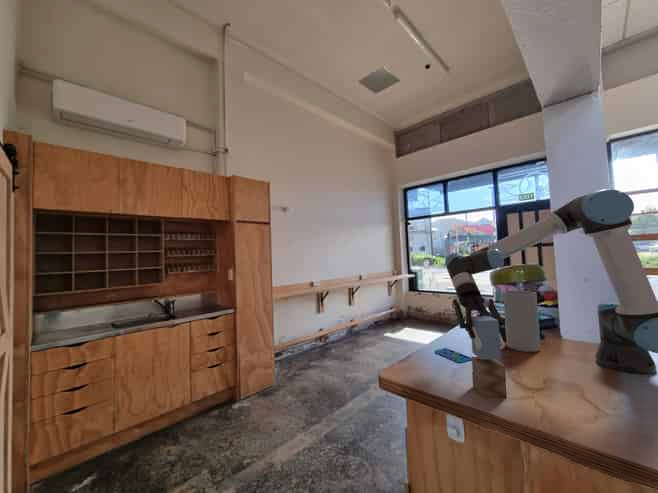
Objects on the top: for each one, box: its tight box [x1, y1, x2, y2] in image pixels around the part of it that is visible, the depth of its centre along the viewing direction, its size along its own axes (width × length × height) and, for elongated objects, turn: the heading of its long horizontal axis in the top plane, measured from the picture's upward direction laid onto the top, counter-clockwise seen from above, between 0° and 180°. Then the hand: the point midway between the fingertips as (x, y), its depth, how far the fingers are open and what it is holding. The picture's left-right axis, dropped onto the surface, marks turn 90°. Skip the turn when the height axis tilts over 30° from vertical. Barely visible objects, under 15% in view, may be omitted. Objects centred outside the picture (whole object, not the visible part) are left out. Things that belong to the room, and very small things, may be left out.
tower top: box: [471, 356, 507, 383], centre depth 87 cm, size 7×7×5 cm
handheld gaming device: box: [434, 347, 472, 364], centre depth 118 cm, size 8×1×15 cm
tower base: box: [471, 371, 508, 399], centre depth 87 cm, size 7×7×5 cm
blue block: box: [471, 315, 502, 360], centre depth 87 cm, size 6×6×12 cm
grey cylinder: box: [502, 290, 542, 353], centre depth 123 cm, size 12×12×25 cm
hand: (491, 347), depth 84 cm, fingers closed on blue block, 6 cm apart
